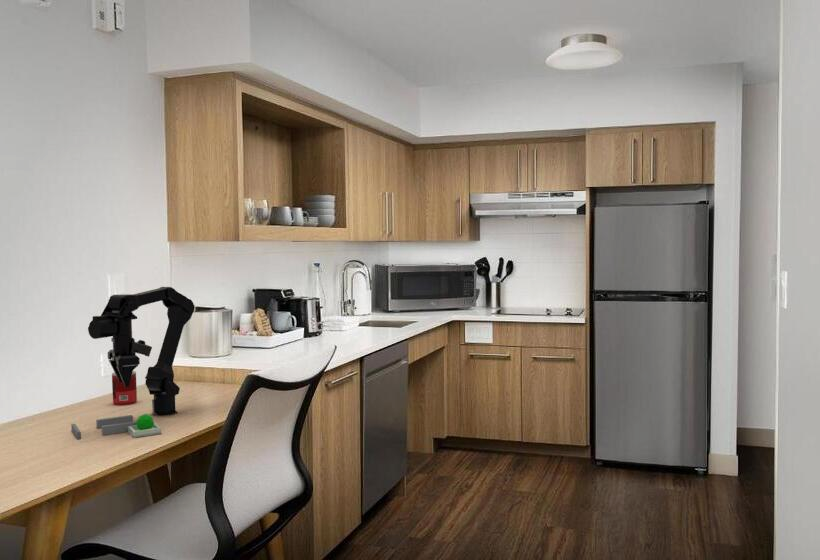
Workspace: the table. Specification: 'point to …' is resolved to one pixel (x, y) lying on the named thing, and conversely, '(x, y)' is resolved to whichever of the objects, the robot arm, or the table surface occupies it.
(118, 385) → the canned food
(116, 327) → the robot arm
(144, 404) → the table surface
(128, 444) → the table surface
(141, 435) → the dish
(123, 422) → the channel
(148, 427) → the polyhedron
